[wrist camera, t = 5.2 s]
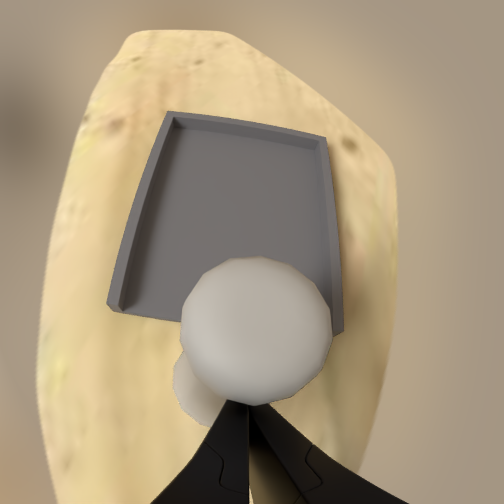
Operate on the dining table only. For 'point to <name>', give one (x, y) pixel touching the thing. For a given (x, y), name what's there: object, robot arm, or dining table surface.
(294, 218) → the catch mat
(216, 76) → the dining table surface
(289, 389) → the salt shaker
